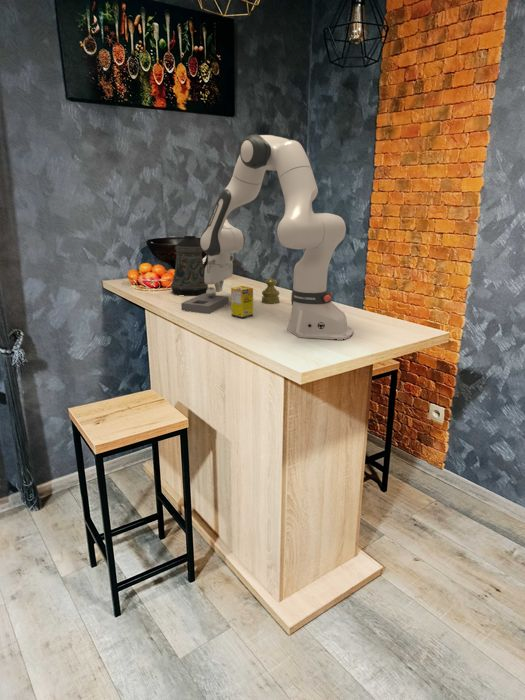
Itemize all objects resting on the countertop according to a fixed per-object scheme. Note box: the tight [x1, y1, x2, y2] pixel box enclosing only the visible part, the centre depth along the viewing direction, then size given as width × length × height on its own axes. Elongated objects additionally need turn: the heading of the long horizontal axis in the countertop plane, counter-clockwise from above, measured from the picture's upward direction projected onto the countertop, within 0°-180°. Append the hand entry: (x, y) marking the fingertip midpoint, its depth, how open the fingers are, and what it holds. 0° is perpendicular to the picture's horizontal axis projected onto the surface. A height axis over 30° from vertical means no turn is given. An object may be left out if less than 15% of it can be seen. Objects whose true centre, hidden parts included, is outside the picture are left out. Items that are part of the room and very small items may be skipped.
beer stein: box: [170, 235, 209, 297], centre depth 221 cm, size 16×19×25 cm
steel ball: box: [206, 287, 217, 297], centre depth 201 cm, size 4×4×4 cm
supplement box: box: [230, 285, 254, 320], centre depth 184 cm, size 6×6×11 cm
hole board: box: [180, 294, 229, 314], centre depth 198 cm, size 12×18×3 cm, turn 159°
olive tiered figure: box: [261, 277, 280, 305], centre depth 207 cm, size 7×7×10 cm
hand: (219, 291), depth 208 cm, fingers closed
